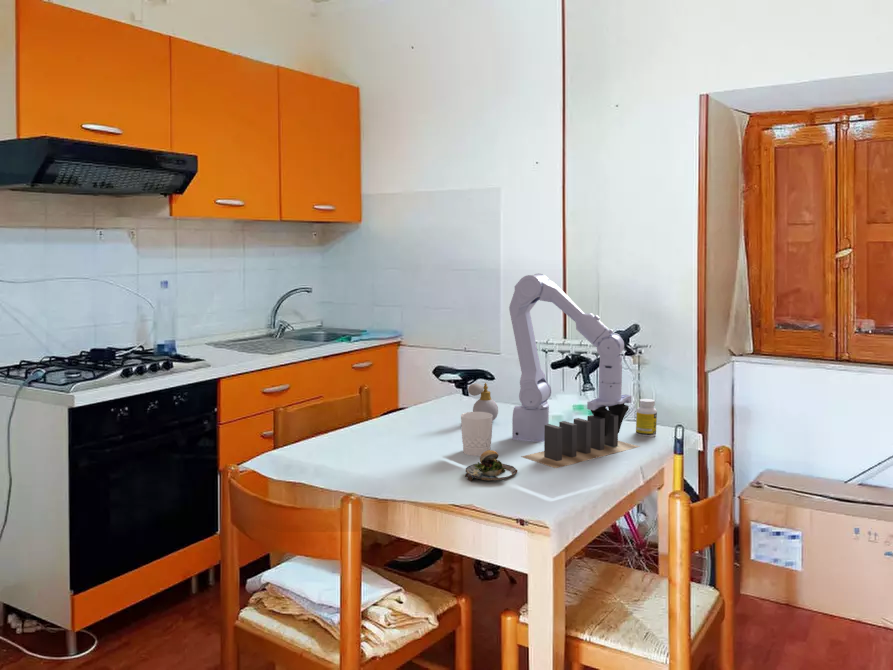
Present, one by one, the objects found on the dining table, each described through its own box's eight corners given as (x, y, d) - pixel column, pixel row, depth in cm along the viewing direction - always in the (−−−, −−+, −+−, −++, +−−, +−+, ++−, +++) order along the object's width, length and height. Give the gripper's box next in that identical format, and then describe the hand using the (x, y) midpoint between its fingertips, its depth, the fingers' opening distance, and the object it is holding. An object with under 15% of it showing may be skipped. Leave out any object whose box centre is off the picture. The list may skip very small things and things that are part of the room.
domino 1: (557, 461, 186) (557, 428, 185) (544, 456, 189) (544, 425, 188) (561, 459, 187) (562, 427, 186) (549, 455, 190) (549, 424, 189)
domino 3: (586, 453, 192) (586, 422, 191) (573, 450, 195) (573, 418, 194) (590, 452, 193) (591, 421, 192) (577, 448, 196) (578, 418, 195)
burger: (465, 485, 171) (465, 452, 170) (464, 469, 183) (464, 438, 182) (519, 485, 171) (520, 452, 170) (515, 469, 183) (515, 438, 182)
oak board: (555, 470, 180) (555, 467, 180) (520, 458, 190) (520, 456, 190) (640, 448, 198) (640, 446, 198) (604, 439, 208) (604, 436, 208)
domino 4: (599, 450, 195) (600, 419, 194) (586, 446, 198) (587, 416, 197) (604, 449, 196) (604, 418, 195) (591, 445, 199) (591, 415, 198)
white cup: (496, 451, 197) (496, 412, 196) (487, 459, 189) (487, 419, 188) (466, 448, 199) (466, 410, 198) (456, 457, 192) (456, 417, 191)
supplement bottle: (656, 438, 208) (657, 402, 207) (636, 437, 209) (637, 401, 208) (655, 433, 214) (656, 398, 212) (635, 432, 215) (636, 397, 213)
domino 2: (571, 457, 189) (572, 425, 188) (558, 453, 192) (559, 421, 191) (576, 456, 190) (576, 424, 189) (563, 452, 193) (563, 421, 192)
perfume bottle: (502, 420, 229) (502, 380, 228) (489, 427, 221) (489, 386, 219) (478, 417, 233) (478, 378, 231) (465, 425, 224) (465, 384, 222)
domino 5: (613, 446, 198) (614, 416, 197) (600, 443, 201) (601, 413, 200) (617, 445, 199) (618, 415, 198) (604, 442, 202) (605, 412, 201)
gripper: (602, 387, 190) (601, 441, 192) (641, 380, 199) (639, 432, 201) (581, 383, 196) (580, 435, 198) (619, 376, 205) (618, 427, 206)
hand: (609, 433), depth 200 cm, fingers open, 4 cm apart
